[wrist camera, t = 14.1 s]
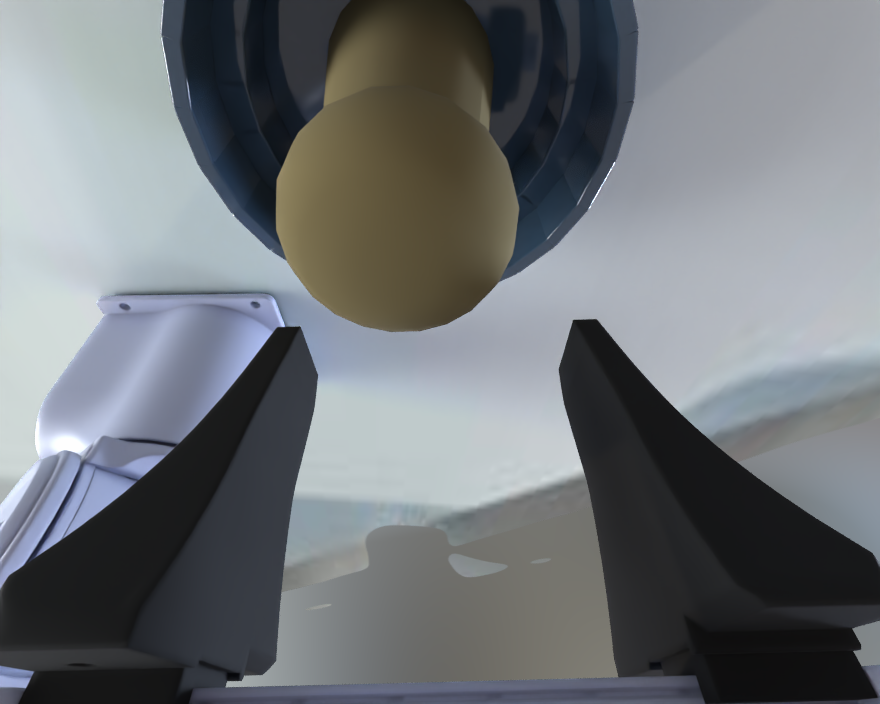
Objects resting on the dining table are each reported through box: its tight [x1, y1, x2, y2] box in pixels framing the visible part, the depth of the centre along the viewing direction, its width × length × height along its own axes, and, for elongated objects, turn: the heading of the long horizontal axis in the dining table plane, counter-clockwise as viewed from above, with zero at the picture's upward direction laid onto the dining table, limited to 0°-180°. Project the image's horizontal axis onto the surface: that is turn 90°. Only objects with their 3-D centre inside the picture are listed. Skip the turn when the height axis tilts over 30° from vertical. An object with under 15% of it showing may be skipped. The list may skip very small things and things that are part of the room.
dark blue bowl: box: [160, 0, 638, 282], centre depth 15 cm, size 13×13×5 cm
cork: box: [276, 0, 519, 332], centre depth 12 cm, size 6×6×11 cm
